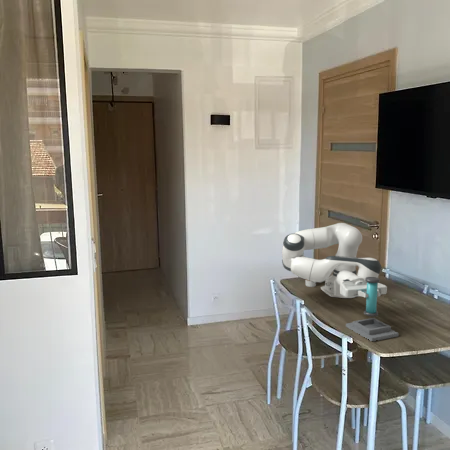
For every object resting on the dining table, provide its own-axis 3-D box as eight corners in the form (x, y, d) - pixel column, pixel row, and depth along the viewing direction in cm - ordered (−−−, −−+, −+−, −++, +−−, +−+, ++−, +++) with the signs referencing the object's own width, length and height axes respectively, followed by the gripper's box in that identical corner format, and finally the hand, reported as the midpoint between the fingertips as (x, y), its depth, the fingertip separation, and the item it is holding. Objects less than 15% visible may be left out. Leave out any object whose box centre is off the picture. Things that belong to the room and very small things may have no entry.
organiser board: (345, 326, 213) (346, 319, 212) (371, 322, 218) (371, 314, 217) (371, 341, 196) (371, 333, 196) (398, 336, 201) (398, 328, 201)
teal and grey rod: (361, 312, 207) (362, 277, 204) (372, 310, 209) (373, 276, 207) (369, 317, 202) (371, 281, 199) (381, 315, 204) (382, 279, 201)
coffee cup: (314, 288, 270) (315, 263, 268) (301, 286, 274) (301, 261, 272) (320, 284, 277) (320, 259, 275) (306, 282, 281) (307, 258, 279)
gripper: (377, 291, 219) (394, 300, 206) (336, 294, 215) (351, 304, 202) (378, 277, 218) (394, 286, 205) (337, 281, 214) (351, 290, 201)
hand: (372, 295), depth 203 cm, fingers closed on teal and grey rod, 4 cm apart
